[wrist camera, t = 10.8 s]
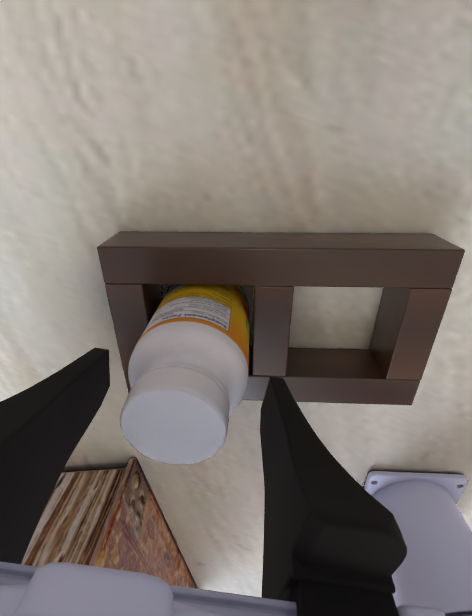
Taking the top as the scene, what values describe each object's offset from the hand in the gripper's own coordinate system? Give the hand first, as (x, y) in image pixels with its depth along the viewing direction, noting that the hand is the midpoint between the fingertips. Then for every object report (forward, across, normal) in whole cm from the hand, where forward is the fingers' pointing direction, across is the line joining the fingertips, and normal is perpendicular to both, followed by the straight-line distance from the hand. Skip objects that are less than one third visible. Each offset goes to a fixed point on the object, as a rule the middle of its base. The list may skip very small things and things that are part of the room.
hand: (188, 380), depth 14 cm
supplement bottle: (+7, 0, 0) cm, 7 cm away
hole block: (+7, -4, -1) cm, 8 cm away
